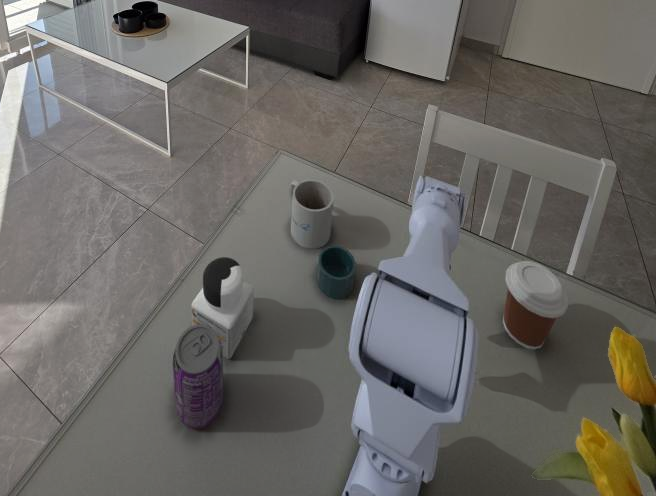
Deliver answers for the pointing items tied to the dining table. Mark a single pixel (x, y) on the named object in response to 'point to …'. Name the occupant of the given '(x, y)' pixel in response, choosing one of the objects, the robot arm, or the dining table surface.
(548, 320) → the coffee cup
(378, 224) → the dining table surface
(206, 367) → the beverage can
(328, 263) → the dark teal cup
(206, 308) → the container
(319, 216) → the mug
